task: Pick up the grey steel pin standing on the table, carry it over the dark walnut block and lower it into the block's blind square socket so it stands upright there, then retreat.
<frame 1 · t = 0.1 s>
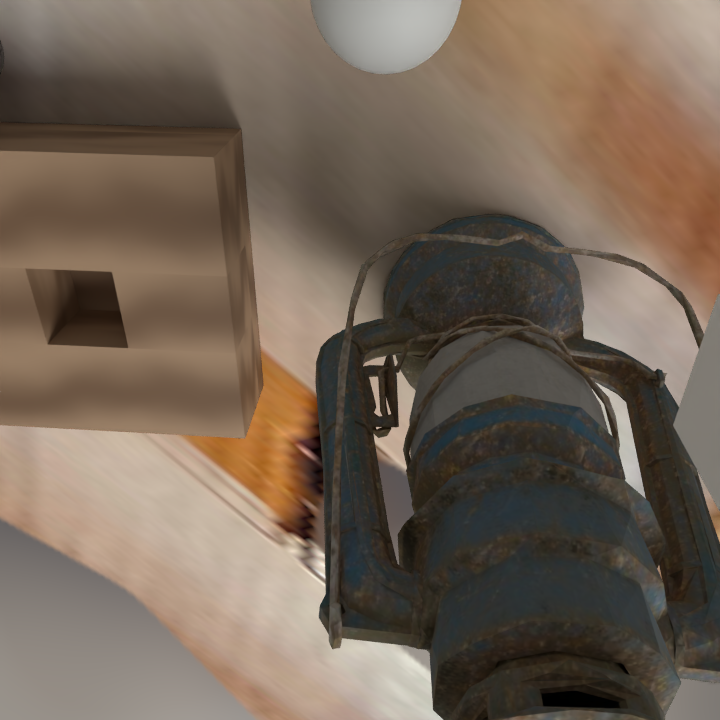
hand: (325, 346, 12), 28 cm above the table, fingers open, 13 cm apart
lantern: (482, 295, 42), on the table
walnut block: (118, 266, 42), on the table
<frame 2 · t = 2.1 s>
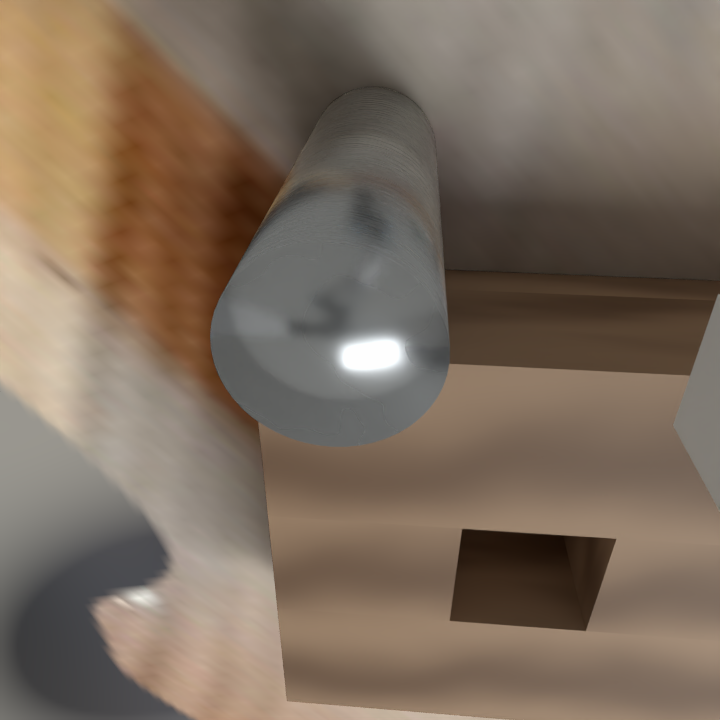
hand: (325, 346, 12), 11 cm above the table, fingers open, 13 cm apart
pin: (373, 153, 21), on the table
walnut block: (508, 465, 27), on the table
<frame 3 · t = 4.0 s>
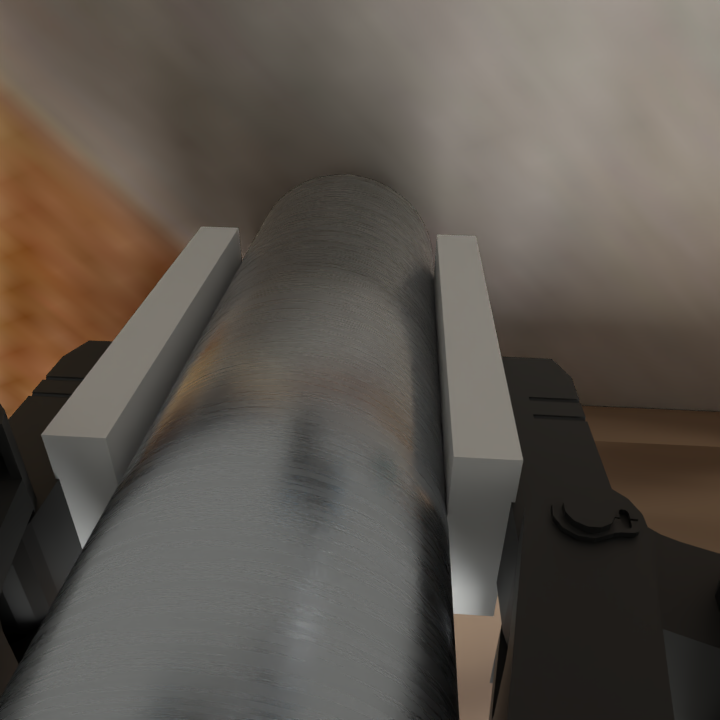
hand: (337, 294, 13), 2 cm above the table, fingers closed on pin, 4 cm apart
pin: (344, 262, 15), point 1 cm above the table, touching gripper
walnut block: (517, 616, 22), on the table
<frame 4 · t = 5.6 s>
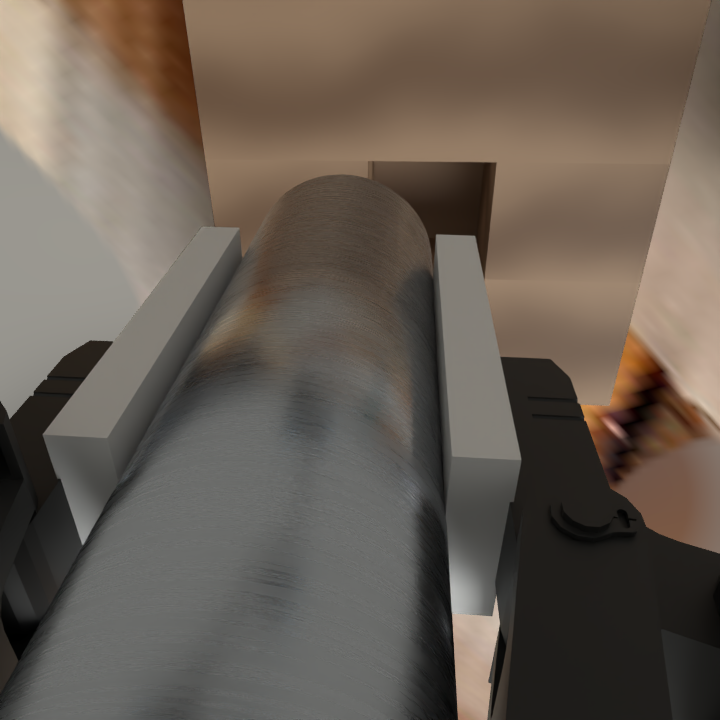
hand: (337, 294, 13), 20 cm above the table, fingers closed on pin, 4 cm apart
pin: (343, 261, 15), point 18 cm above the table, touching gripper
walnut block: (427, 177, 31), on the table
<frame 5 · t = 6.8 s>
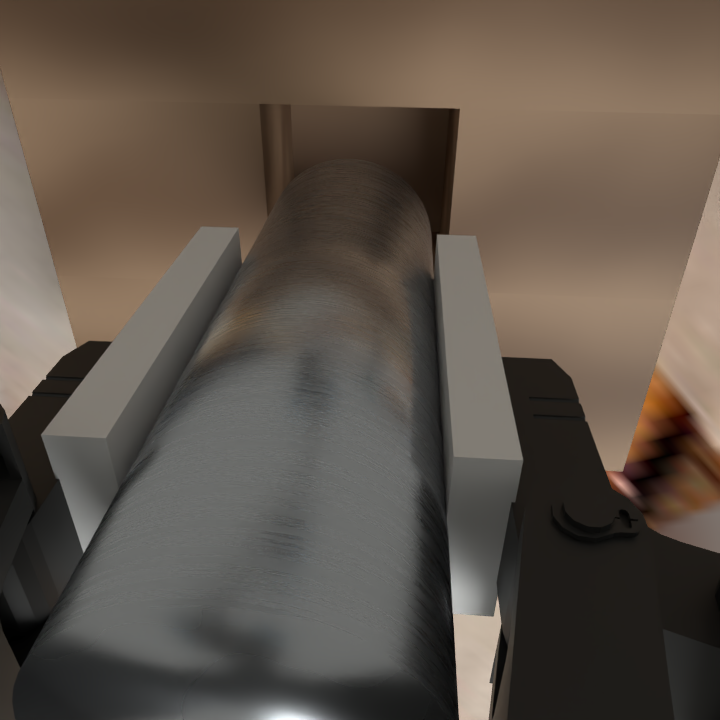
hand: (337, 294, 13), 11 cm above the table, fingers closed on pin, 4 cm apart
pin: (350, 240, 16), point 8 cm above the table, touching gripper
walnut block: (371, 145, 22), on the table
when the fingers open (7 cm above the table, at t = 7.7 s): pin drops 3 cm, resting on walnut block.
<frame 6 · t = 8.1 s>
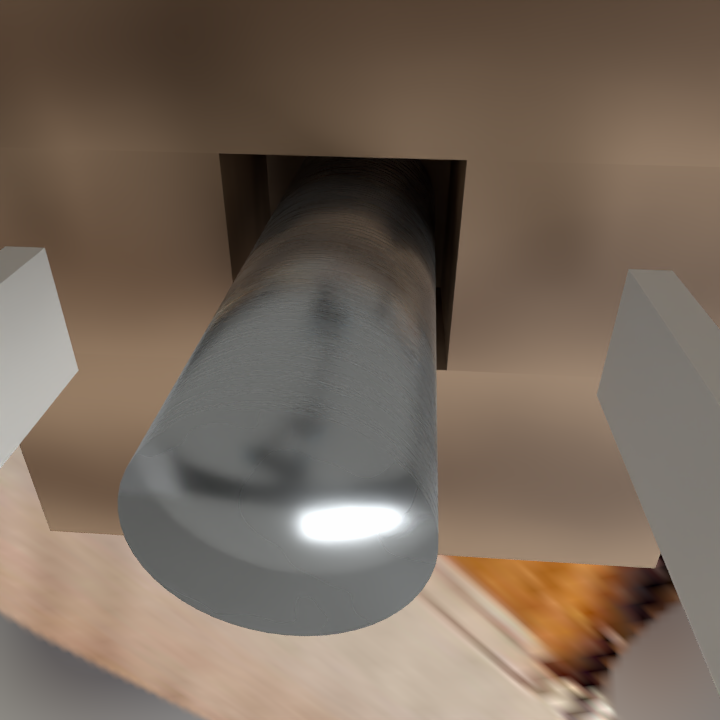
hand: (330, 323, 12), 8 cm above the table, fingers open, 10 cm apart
pin: (362, 204, 18), point 2 cm above the table, touching walnut block
walnut block: (361, 186, 19), on the table
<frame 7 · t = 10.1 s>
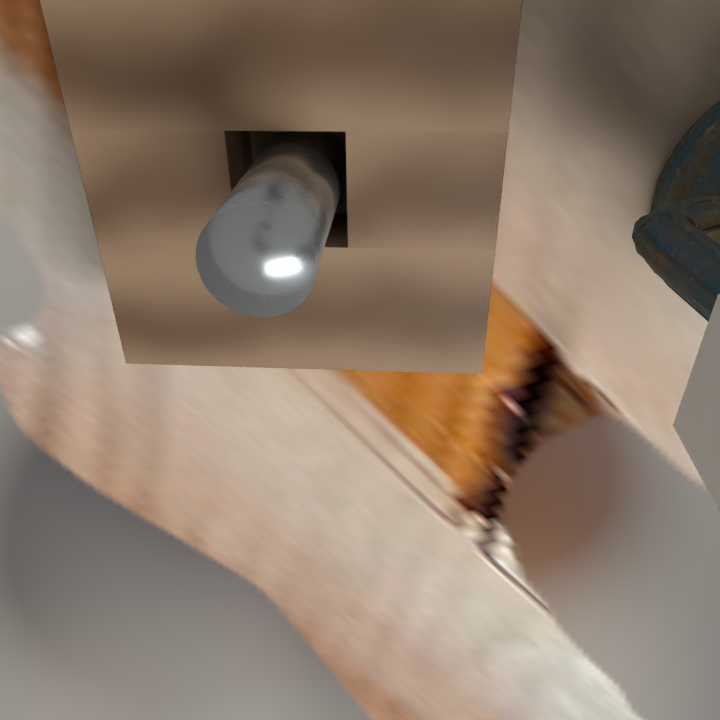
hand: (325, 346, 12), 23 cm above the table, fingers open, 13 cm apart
pin: (306, 164, 31), point 2 cm above the table, touching walnut block
walnut block: (308, 155, 33), on the table
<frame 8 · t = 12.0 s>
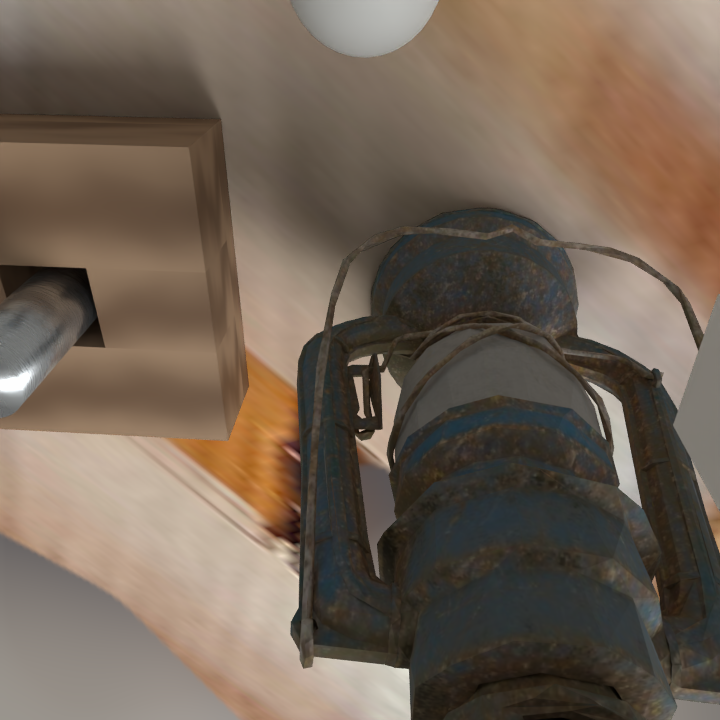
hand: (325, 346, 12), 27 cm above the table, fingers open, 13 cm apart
pin: (89, 273, 40), point 2 cm above the table, touching walnut block
lantern: (474, 292, 40), on the table
walnut block: (97, 263, 41), on the table
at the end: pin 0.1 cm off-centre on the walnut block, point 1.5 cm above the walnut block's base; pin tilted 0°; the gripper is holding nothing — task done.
